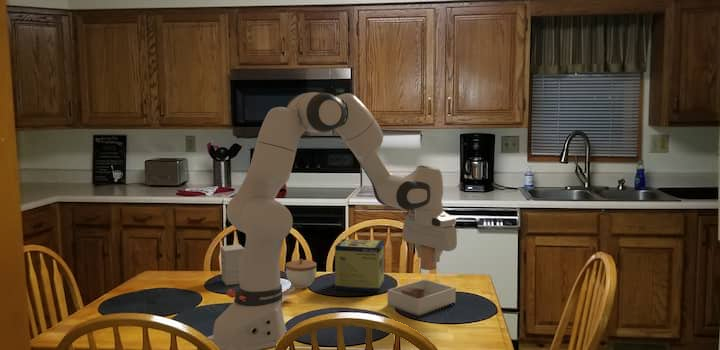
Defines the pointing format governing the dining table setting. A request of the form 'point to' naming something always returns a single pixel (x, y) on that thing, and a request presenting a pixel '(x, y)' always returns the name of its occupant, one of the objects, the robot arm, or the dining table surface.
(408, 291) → the walnut cube
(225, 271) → the supplement box
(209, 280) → the dining table surface
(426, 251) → the terracotta cylinder
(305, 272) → the lidded jar
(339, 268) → the protein box
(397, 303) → the tote
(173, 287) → the dining table surface
